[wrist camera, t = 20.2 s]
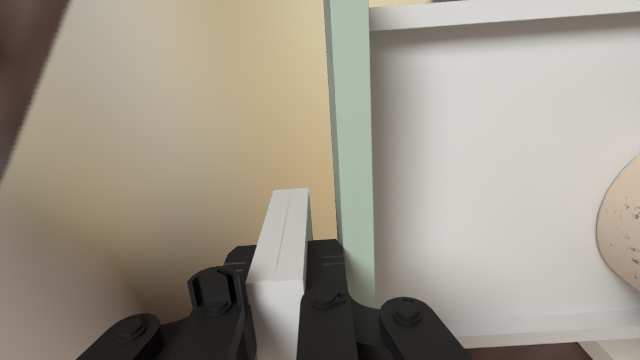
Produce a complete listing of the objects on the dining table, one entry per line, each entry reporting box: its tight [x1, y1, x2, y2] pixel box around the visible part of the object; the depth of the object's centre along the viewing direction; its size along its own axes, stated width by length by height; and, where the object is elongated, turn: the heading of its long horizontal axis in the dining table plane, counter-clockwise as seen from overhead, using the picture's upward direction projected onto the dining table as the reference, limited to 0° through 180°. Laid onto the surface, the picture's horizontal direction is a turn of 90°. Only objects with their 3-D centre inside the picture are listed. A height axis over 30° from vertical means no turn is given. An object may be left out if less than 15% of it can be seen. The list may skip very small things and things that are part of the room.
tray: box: [323, 0, 640, 349], centre depth 15 cm, size 19×24×7 cm
